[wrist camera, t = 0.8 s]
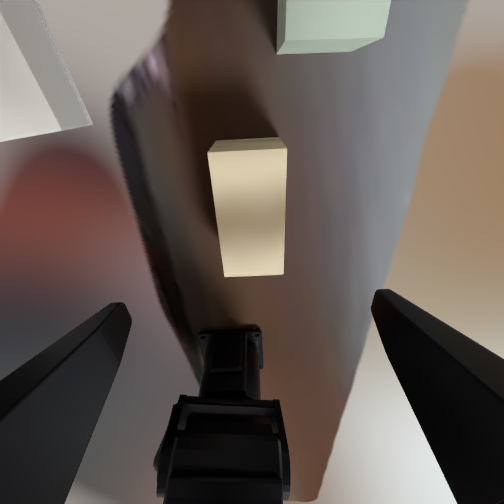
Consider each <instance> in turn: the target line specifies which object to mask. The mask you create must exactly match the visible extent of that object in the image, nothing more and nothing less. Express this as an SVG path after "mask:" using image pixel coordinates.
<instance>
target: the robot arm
mask: <svg viewBox="0 0 504 504" xmlns="http://www.w3.org/2000/svg"><path fill="white" fill-rule="evenodd" d="M371 311H372V315H373V318H374V321H375V323H376V326H377V329H378V332H379V335H380V338H381V341H382V344H383V346H384V349H385V352H386V354H387V356H388V359H389V361H390V363H391V365H392V367H393V369H394V371H395V373H396V375H397V377H398V380H399V382H400V384H401V386H402V388H403V390H404V392H405V394H406V397H407V399H408V401H409V403H410V405H411V407H412V409H413V411H414V413H415V415H416V418H417V420H418V422H419V424H420V426H421V428H422V430H423V432H424V434H425V436H426V438H427V441H428V443H429V445H430V447H431V449H432V451H433V453H434V455H435V458H436V460H437V462H438V464H439V466H440V468H441V470H442V472H443V474H444V477H445V479H446V481H447V483H448V485H449V487H450V489H451V491H452V493H453V495H454V498H455V500H456V502H457V504H504V359H502V358H501V357H500V356H498V355H496V354H495V353H493V352H491V351H489V350H488V349H486V348H485V347H483V346H482V345H480V344H478V343H477V342H475V341H473V340H472V339H470V338H469V337H467V336H465V335H463V334H462V333H460V332H459V331H457V330H455V329H454V328H452V327H450V326H449V325H447V324H446V323H444V322H442V321H441V320H439V319H438V318H436V317H434V316H432V315H431V314H429V313H428V312H426V311H424V310H423V309H421V308H420V307H418V306H416V305H415V304H413V303H411V302H410V301H408V300H406V299H405V298H403V297H402V296H400V295H398V294H397V293H395V292H393V291H392V290H390V289H378V290H376V292H375V295H374V298H373V302H372V305H371ZM131 324H132V319H131V316H130V315H129V312H128V310H127V308H126V306H125V304H124V303H122V302H117V303H110V304H109V305H107V306H106V307H104V308H103V309H102V310H100V311H99V312H97V313H96V314H94V315H93V316H92V317H90V318H89V319H87V320H86V321H85V322H83V323H82V324H80V325H79V326H77V327H76V328H75V329H73V330H72V331H70V332H69V333H67V334H66V335H65V336H63V337H62V338H60V339H59V340H57V341H56V342H55V343H53V344H52V345H50V346H49V347H48V348H46V349H45V350H43V351H42V352H40V353H39V354H38V355H36V356H35V357H33V358H32V359H30V360H29V361H27V362H26V363H25V364H23V365H22V366H21V367H19V368H17V369H16V370H15V371H13V372H12V373H10V374H9V375H7V376H6V377H5V378H3V379H2V380H0V504H64V503H65V501H66V498H67V496H68V493H69V491H70V488H71V486H72V483H73V481H74V478H75V476H76V473H77V471H78V468H79V466H80V463H81V461H82V458H83V456H84V453H85V451H86V448H87V446H88V443H89V441H90V438H91V436H92V433H93V431H94V428H95V426H96V423H97V421H98V418H99V416H100V413H101V411H102V408H103V406H104V403H105V401H106V398H107V396H108V393H109V391H110V388H111V386H112V383H113V381H114V378H115V376H116V373H117V371H118V368H119V365H120V362H121V359H122V356H123V352H124V349H125V345H126V342H127V338H128V335H129V331H130V328H131ZM198 339H199V342H200V346H201V349H202V353H203V357H204V360H205V361H204V366H203V372H202V378H201V384H200V389H199V396H198V397H195V396H187V395H180V397H179V400H178V403H177V404H175V405H173V408H172V412H171V416H170V420H169V424H168V427H167V430H166V432H165V434H164V437H163V439H162V441H161V444H160V446H159V449H158V451H157V454H156V456H155V459H154V463H153V467H154V469H155V470H156V472H157V497H158V498H164V502H163V504H283V501H287V500H288V498H289V493H290V458H289V450H288V444H287V438H286V433H285V428H284V423H283V417H282V412H281V407H280V401H279V400H276V399H273V400H260V370H259V369H262V368H263V349H262V332H261V330H260V329H242V330H219V331H201V332H200V333H199V336H198Z"/></svg>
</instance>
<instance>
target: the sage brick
mask: <svg viewBox="0 0 504 504" xmlns="http://www.w3.org/2000/svg"><path fill="white" fill-rule="evenodd" d="M390 3H391V0H278V9H277V54H296V53H325V52H351V51H353V50H356V49H358V48H360V47H363V46H365V45H367V44H370V43H372V42H374V41H376V40H379V39H381V38H383V37H384V33H385V28H386V23H387V18H388V13H389V8H390Z"/></svg>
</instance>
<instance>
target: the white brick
mask: <svg viewBox="0 0 504 504" xmlns="http://www.w3.org/2000/svg"><path fill="white" fill-rule="evenodd" d="M89 125H93V122H92V120H91V118H90V116H89V114H88V111H87V109H86V107H85V105H84V102H83V100H82V98H81V96H80V94H79V92H78V89H77V87H76V85H75V83H74V80H73V78H72V76H71V74H70V72H69V69H68V67H67V65H66V63H65V61H64V58H63V56H62V54H61V52H60V50H59V47H58V45H57V43H56V41H55V38H54V36H53V34H52V32H51V30H50V27H49V25H48V23H47V21H46V19H45V16H44V14H43V12H42V10H41V7H40V5H39V3H38V1H37V0H0V142H3V141H7V140H14V139H19V138H25V137H30V136H36V135H41V134H46V133H52V132H58V131H62V130H68V129H73V128H79V127H84V126H89Z"/></svg>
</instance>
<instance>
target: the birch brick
mask: <svg viewBox="0 0 504 504" xmlns="http://www.w3.org/2000/svg"><path fill="white" fill-rule="evenodd" d="M207 154H208V161H209V168H210V176H211V183H212V190H213V197H214V204H215V211H216V219H217V226H218V233H219V240H220V247H221V255H222V262H223V269H224V276H225V277H237V276H260V275H283V270H284V236H285V201H286V166H287V148H286V146H285V145H284V143H283V142H282V140H281V139H280V138H279V137H272V138H254V139H235V140H216V141H215V143H214V144H213V145H212V147H211V148H210V149H209V151H208V152H207Z"/></svg>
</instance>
